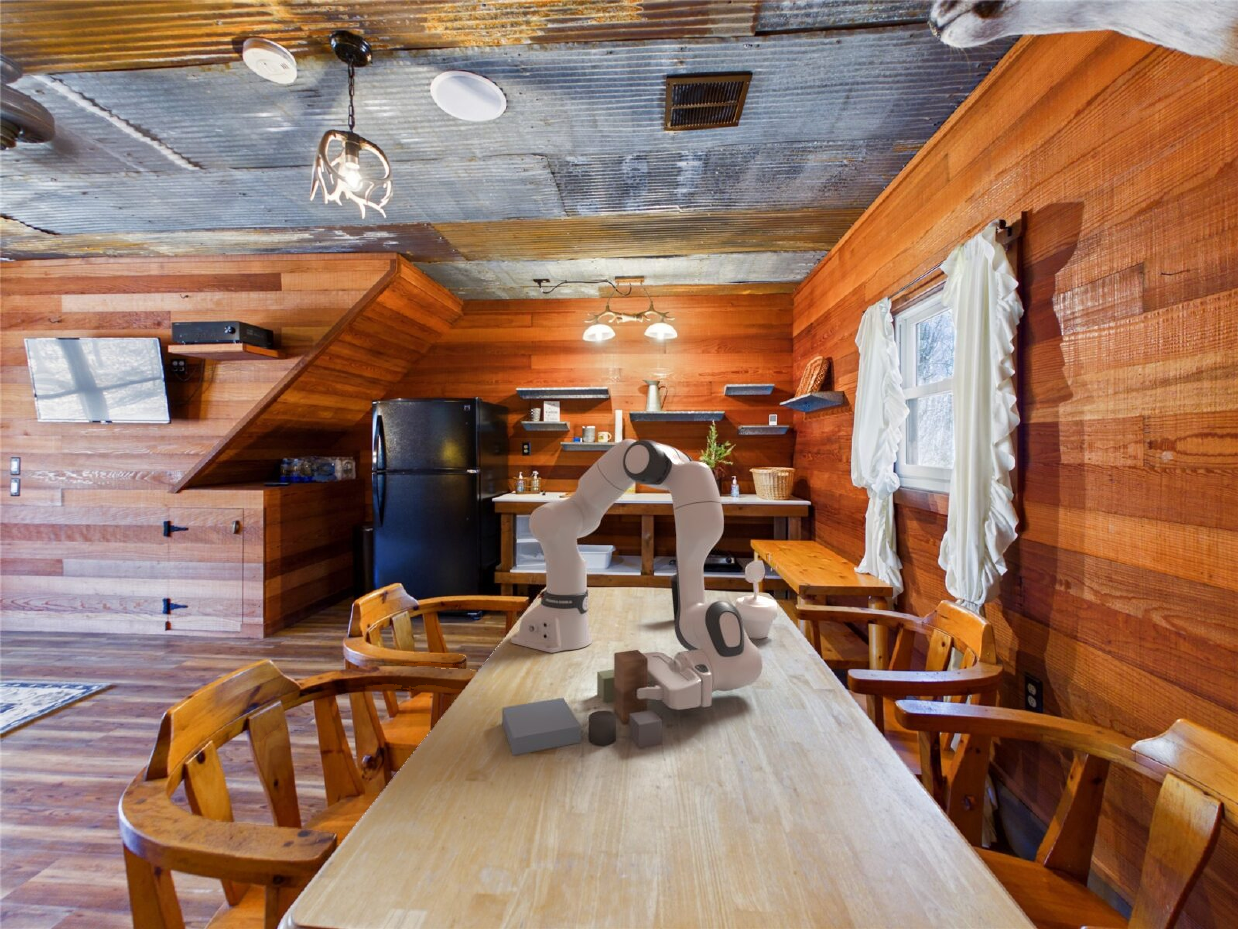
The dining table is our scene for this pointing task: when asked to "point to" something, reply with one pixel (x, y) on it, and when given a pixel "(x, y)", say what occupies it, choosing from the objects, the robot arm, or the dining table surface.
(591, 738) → the charcoal cylinder
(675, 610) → the drinking cup
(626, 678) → the walnut block
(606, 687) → the olive block
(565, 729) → the slate riser
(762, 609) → the potted plant
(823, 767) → the dining table surface
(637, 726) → the mauve grey cube
